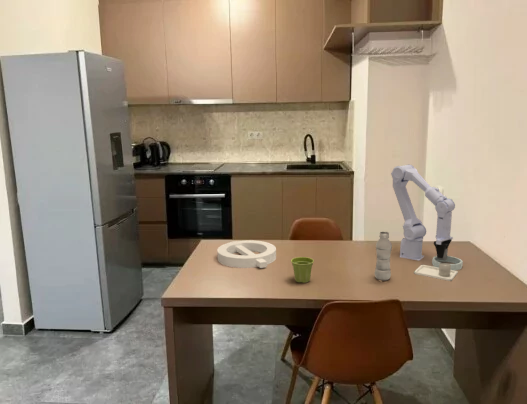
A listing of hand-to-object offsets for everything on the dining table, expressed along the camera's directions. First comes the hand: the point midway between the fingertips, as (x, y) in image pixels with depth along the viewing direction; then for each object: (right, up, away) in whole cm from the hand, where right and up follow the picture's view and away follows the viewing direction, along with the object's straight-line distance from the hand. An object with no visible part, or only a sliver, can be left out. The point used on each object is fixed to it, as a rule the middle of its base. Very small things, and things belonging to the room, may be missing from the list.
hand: (441, 256), depth 195 cm
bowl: (+2, -5, -1) cm, 5 cm away
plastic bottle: (-30, -8, -14) cm, 34 cm away
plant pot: (-63, -9, -13) cm, 65 cm away
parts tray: (-6, -7, -10) cm, 13 cm away
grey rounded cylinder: (-4, -6, -12) cm, 14 cm away
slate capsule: (0, -1, 0) cm, 1 cm away
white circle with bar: (-87, -3, +16) cm, 89 cm away
